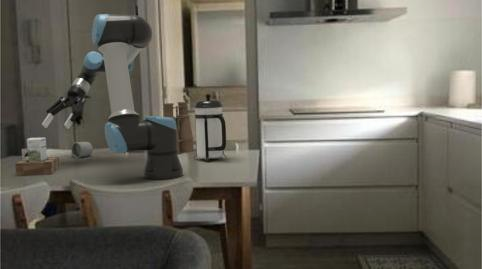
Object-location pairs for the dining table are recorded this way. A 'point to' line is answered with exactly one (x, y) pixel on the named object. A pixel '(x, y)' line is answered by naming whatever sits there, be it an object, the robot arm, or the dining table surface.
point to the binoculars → (181, 126)
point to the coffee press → (209, 129)
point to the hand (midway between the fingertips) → (55, 126)
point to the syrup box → (37, 149)
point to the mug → (24, 153)
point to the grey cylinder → (81, 149)
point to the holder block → (37, 167)
